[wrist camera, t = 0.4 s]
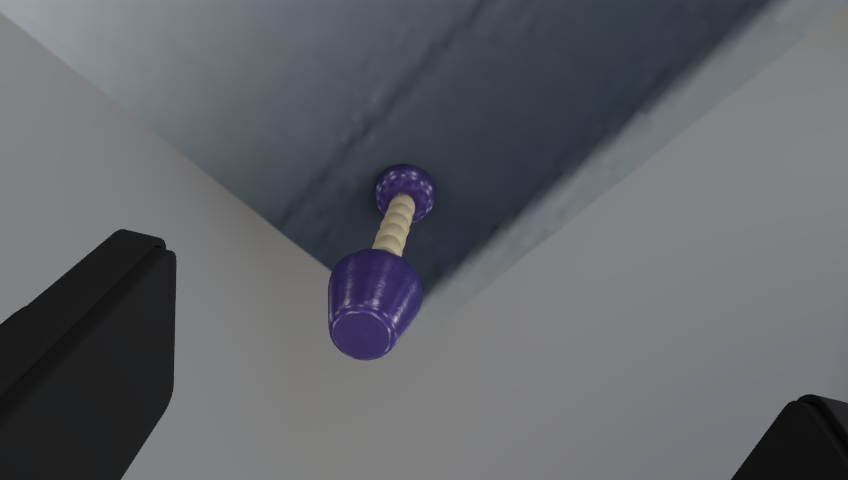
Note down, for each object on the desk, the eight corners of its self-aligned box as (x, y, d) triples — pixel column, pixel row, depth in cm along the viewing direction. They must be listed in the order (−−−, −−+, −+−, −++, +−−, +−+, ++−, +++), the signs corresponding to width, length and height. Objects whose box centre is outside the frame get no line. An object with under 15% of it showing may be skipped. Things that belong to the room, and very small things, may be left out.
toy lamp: (358, 176, 40) (287, 323, 25) (414, 142, 38) (374, 276, 23) (397, 230, 41) (353, 396, 27) (453, 199, 40) (437, 357, 25)
